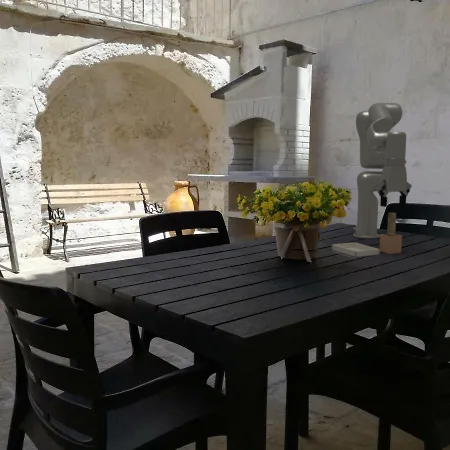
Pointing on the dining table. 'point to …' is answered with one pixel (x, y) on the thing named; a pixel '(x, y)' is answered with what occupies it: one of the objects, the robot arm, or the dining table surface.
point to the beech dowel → (391, 224)
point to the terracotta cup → (390, 243)
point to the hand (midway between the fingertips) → (393, 206)
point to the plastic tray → (354, 249)
